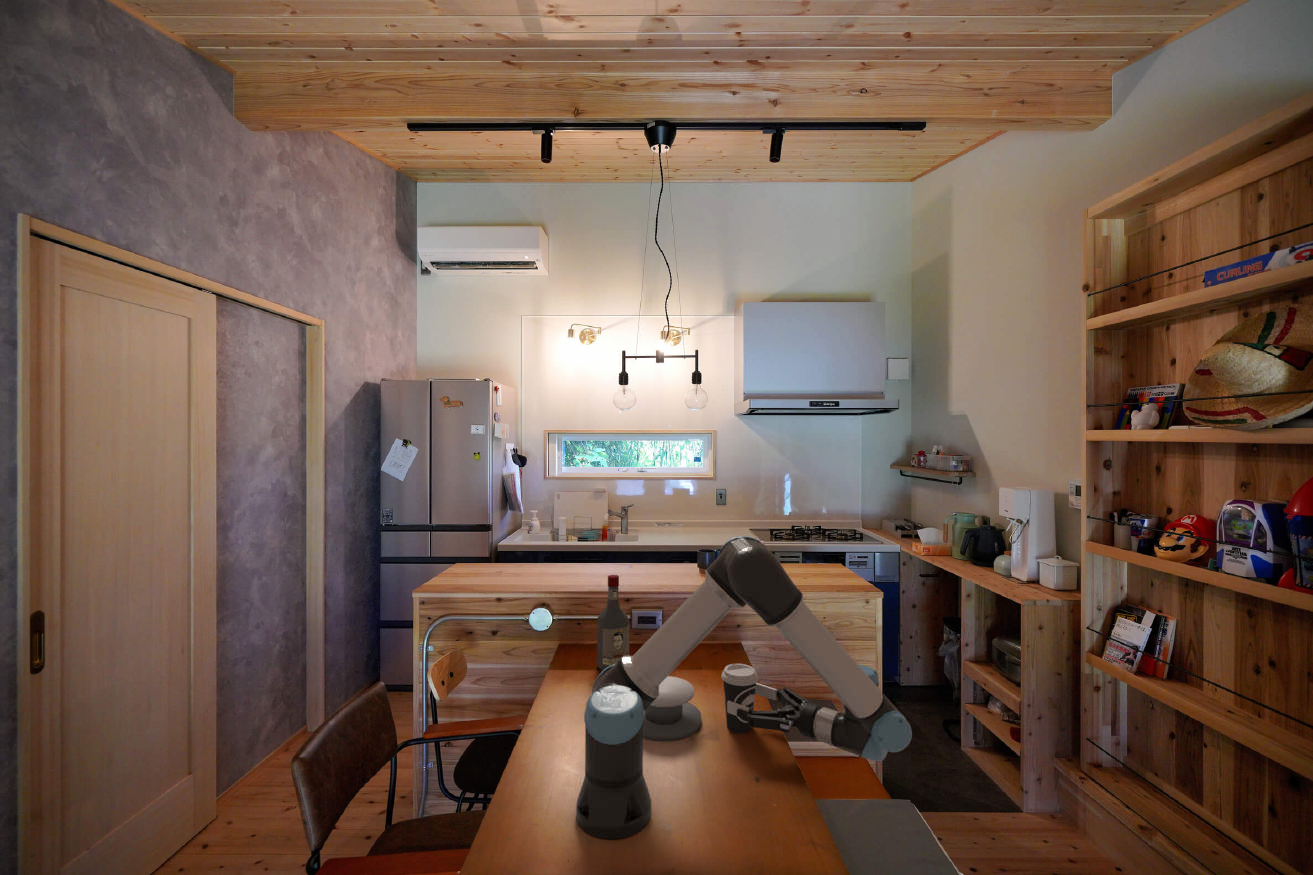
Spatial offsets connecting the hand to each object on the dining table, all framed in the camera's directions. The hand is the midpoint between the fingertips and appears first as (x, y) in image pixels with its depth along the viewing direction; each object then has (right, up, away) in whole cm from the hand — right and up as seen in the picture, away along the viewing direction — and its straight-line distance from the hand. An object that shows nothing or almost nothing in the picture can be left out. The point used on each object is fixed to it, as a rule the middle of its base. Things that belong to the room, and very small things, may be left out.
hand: (741, 696), depth 148 cm
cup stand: (-20, -8, +3) cm, 22 cm away
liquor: (-37, -8, +37) cm, 52 cm away
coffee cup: (-1, -8, 0) cm, 8 cm away
